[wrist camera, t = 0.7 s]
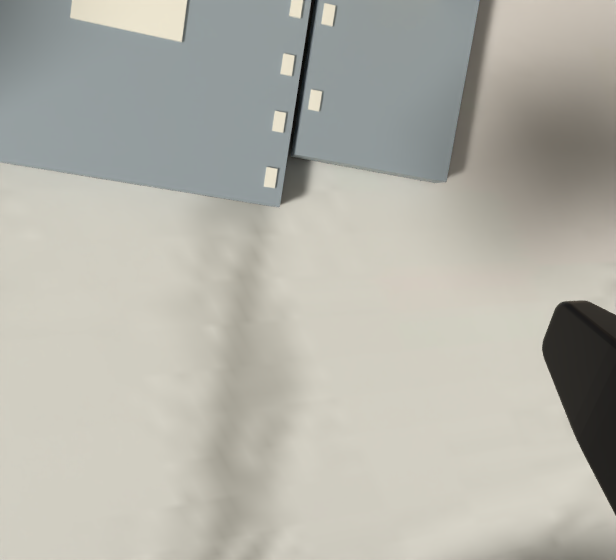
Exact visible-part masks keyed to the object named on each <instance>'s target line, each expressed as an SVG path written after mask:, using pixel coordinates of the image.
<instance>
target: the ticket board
mask: <svg viewBox="0 0 616 560" xmlns="http://www.w3.org/2000/svg"><path fill="white" fill-rule="evenodd" d="M310 5H311V0H0V162H1V163H7V164H13V165H20V166H26V167H32V168H38V169H44V170H51V171H57V172H63V173H69V174H75V175H81V176H88V177H94V178H100V179H106V180H112V181H118V182H125V183H131V184H137V185H143V186H149V187H155V188H162V189H168V190H174V191H180V192H186V193H192V194H199V195H205V196H211V197H217V198H223V199H229V200H236V201H242V202H248V203H254V204H260V205H266V206H273V207H280V202H281V195H282V189H283V182H284V176H285V169H286V163H287V156H288V150H289V143H290V137H291V130H292V123H293V117H294V110H295V104H296V97H297V91H298V84H299V78H300V71H301V64H302V58H303V51H304V45H305V38H306V32H307V25H308V19H309V12H310Z"/></svg>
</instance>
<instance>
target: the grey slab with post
mask: <svg viewBox="0 0 616 560" xmlns="http://www.w3.org/2000/svg"><path fill="white" fill-rule="evenodd" d="M479 1H480V0H314V6H313V12H312V19H311V25H310V32H309V39H308V45H307V52H306V58H305V65H304V71H303V78H302V84H301V91H300V97H299V104H298V110H297V117H296V123H295V130H294V136H293V143H292V149H291V156H290V157H296V158H301V159H307V160H312V161H318V162H323V163H329V164H334V165H340V166H345V167H351V168H356V169H362V170H367V171H373V172H378V173H384V174H389V175H395V176H400V177H406V178H411V179H417V180H422V181H428V182H433V183H439V182H447V176H448V171H449V165H450V160H451V154H452V149H453V144H454V138H455V133H456V127H457V122H458V116H459V111H460V105H461V100H462V94H463V89H464V83H465V78H466V72H467V67H468V62H469V56H470V51H471V45H472V40H473V34H474V29H475V23H476V18H477V12H478V7H479Z"/></svg>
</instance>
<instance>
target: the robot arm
mask: <svg viewBox="0 0 616 560" xmlns="http://www.w3.org/2000/svg"><path fill="white" fill-rule="evenodd" d="M542 351H543V356H544V359H545V362H546V364H547V367H548V369H549V372H550V374H551V377H552V379H553V382H554V385H555V387H556V390H557V392H558V395H559V397H560V400H561V402H562V405H563V407H564V410H565V412H566V415H567V417H568V420H569V422H570V425H571V427H572V430H573V432H574V434H575V437H576V439H577V441H578V443H579V445H580V447H581V449H582V451H583V454H584V456H585V457H586V459H587V461H588V463H589V465H590V467H591V469H592V471H593V473H594V475H595V477H596V479H597V480H598V482H599V484H600V486H601V488H602V490H603V492H604V494H605V496H606V498H607V500H608V502H609V503H610V505H611V507H612V509H613V511H614V513H615V515H616V315H615V314H613V313H611V312H609V311H607V310H605V309H603V308H601V307H599V306H597V305H595V304H593V303H591V302H588V301H564V302H562V303H560V304H559V305H558V306H557V307H556V308H555V311H554V313H553V316H552V318H551V321H550V324H549V326H548V329H547V332H546V334H545V337H544V340H543V345H542Z"/></svg>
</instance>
